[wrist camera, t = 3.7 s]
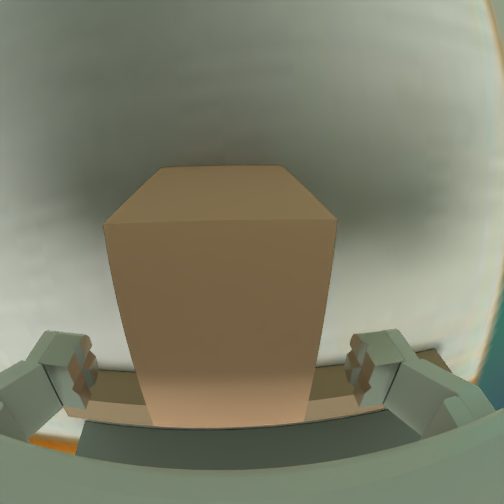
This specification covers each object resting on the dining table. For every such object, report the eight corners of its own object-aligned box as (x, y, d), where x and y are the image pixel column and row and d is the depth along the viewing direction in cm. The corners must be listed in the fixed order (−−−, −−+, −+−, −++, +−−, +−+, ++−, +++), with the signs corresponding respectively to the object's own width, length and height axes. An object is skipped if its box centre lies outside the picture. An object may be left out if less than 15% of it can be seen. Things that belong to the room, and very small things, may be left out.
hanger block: (161, 167, 13) (103, 224, 6) (281, 165, 13) (337, 219, 7) (174, 310, 16) (153, 426, 9) (274, 307, 16) (303, 421, 10)
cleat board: (56, 365, 17) (-6, 527, 6) (445, 346, 19) (532, 475, 8) (95, 438, 20) (69, 566, 9) (409, 419, 22) (460, 530, 11)
